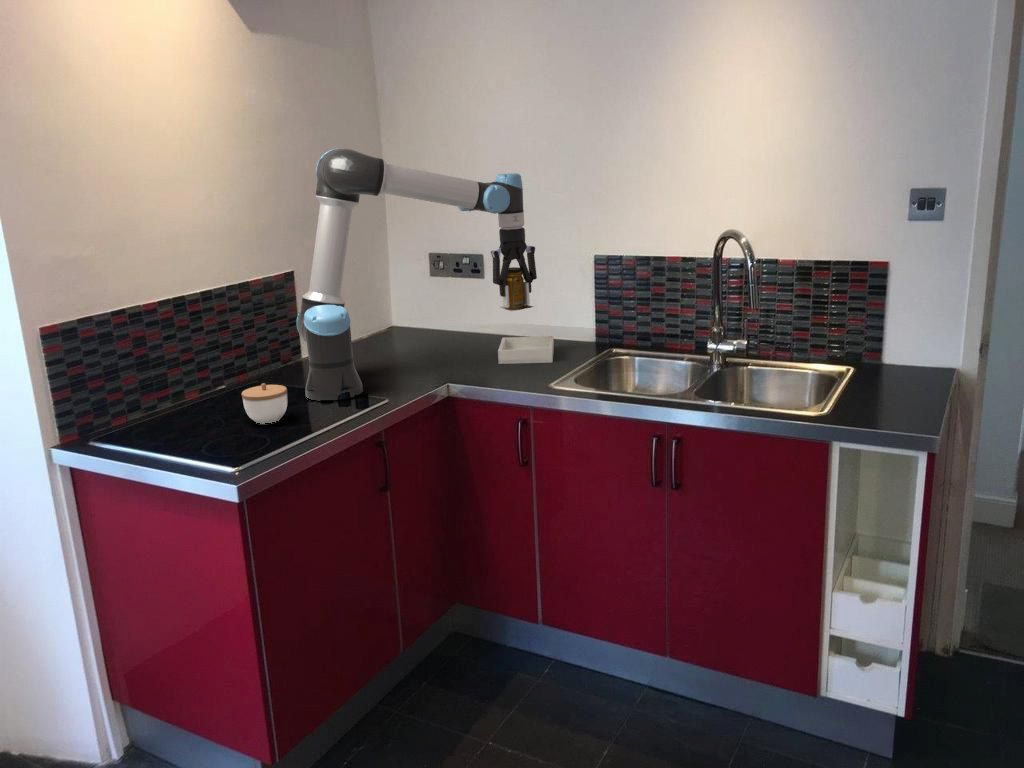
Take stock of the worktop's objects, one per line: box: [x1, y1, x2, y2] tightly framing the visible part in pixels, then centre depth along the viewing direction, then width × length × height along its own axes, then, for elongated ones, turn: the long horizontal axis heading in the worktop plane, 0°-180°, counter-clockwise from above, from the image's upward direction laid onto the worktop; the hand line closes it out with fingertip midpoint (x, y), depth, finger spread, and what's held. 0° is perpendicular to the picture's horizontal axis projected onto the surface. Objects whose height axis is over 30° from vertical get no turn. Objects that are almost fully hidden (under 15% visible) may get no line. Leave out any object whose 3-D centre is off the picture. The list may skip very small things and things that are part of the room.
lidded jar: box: [241, 382, 288, 425], centre depth 219 cm, size 11×11×9 cm
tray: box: [497, 335, 555, 365], centre depth 272 cm, size 16×18×4 cm
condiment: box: [500, 266, 534, 312], centre depth 267 cm, size 7×8×12 cm
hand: (516, 305), depth 267 cm, fingers closed on condiment, 6 cm apart
